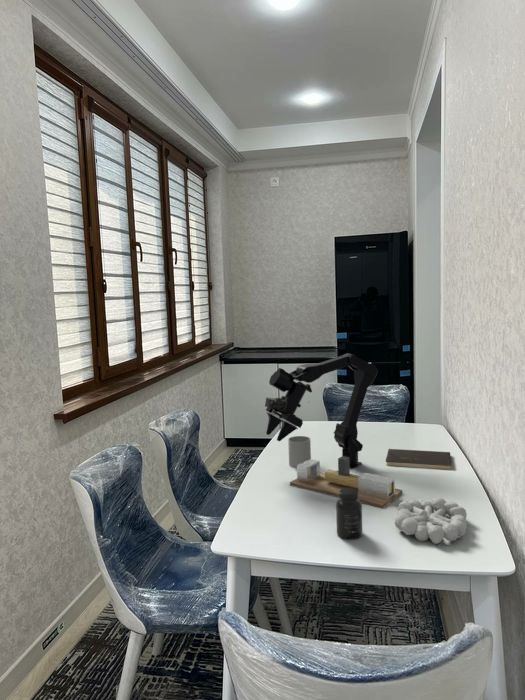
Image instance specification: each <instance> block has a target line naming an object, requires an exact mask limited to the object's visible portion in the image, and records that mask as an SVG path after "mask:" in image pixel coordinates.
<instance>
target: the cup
mask: <svg viewBox="0 0 525 700" xmlns="http://www.w3.org/2000/svg"><path fill="white" fill-rule="evenodd" d="M287 442H288V465H289V467H290V468H293V469H297V465H299V464H301V463H303V462H305V461H307V460H309V459H312V455H311V453H312V451H311V450H312V449H311V445H312V444H311V438H310V437H309V436H305V435H296V436H295V435H294V436H291V437H289V438H288V440H287Z"/></svg>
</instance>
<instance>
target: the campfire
mask: <svg viewBox="0 0 525 700" xmlns="http://www.w3.org/2000/svg"><path fill="white" fill-rule="evenodd" d="M397 509H398V510H397V512H396V517H395V518H394V525H395V527H396V529H398V530H399V531H402V532H403V533H404V534H405V535H406V536H413V535H414V536H415V538H416V539H417V540H418V541H419V542H427V541H428V540H429V539H430V540H431V542H432V543H433V544H435V545H436V544H440V543H441V541H442V540H443V539H444V540H446V541H448V542H452V541H456V540H457V539H458V538H459V537H460V538H461V537H463V536H465V535H466V530H467V527H468V522H467V510H466V509H465V508H464V507H462V506H459V504H458V503H457V502H454V501H449V502H447V501H446V500H445V499H444V498H443V497H440V496H438V497H435V498H433V500H431V501H429V500H428V499H426V500H425V499H424V500H421V501H419V500H417V499H413V498H412V499H411V500H408V501H407V500H403V501H402V502H400V503H399V504H398V508H397ZM446 515H448V516H449V517H450V518H449V517H448V518H447V517H446Z"/></svg>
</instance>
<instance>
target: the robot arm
mask: <svg viewBox="0 0 525 700" xmlns="http://www.w3.org/2000/svg"><path fill="white" fill-rule="evenodd" d="M345 367H349V369H351V370H352V371H354V372H353V380H354V386H353V389H352V392H351V397H350V399H349V402H348V406H347V408H346V413H345V415H344V418H343V421H341V422H340V423H338V422H337V423H336V424H335V429H334V431H333V434H334V435H333V439H334V440H335V442H336V443H337V445H338V447H340V448H342V449H341V452H342V454H341V457H342V456H345V457H349V461H350V469H355V468H357V467H359V466H360V465H362V464H363V462H361V461H359V452H361V451H362V450H363V447H364V445H363V443H361V442H360V441H359V440H358V426H357V424H358V420H359V417H360V414H361V410H362V407H363V404H364V401H365V399H366V394H367V391H368V389H369V387H370V386H371V385H372V384H373V383H374V381H375V378H376V377H377V375H378V369H377V366H376V365H375V364H374V363H372V362H367V361H365V360H364V359H361V358H360V357H358V356H357V355H355V354H352V353H348V352H347V353H344V354H343V355H340V356H336V357H334V358H330V359H328V360H324V361H321V362H318V363H307V364H300V365H298V366H297V367H296V369H295V370H293V371H291V372H287V371H286V370H285V369H283V368H281V367H278V368H277V370H276V371H274V372H273V374H272V375H271V376H270V378H269V382H268V383H269V385H270V386H271V387H273V388H275V389H277V390H278V391H281V392H283V393H285V392H286V393H285V395H282V396H280V397H266V398H265V404H264V407H266V409H265V411H266V414H267V417H268V423H267V428H266V432H265V433H266V435H268V436H269V435H271V434H272V433H273V431H274V430H276V429H277V427H278V426H279V425H280V424H281V428H280V430H279V433H278V436H277V438H276V441H278V442H281V441H282V440H283V439H285V438H286V437H287V436H289V435H290V434H291V433H293V432H295V431H296V430H298V429H299V428H300V429H301V427H302V426H303V424H304V423H303V422H304V421H303V419H302V418H300V417H298V416H297V415H296V414H295V413H296V412H297V409H298V408H301V406H302V404H301V402H302V399H303V397H304V395H305V394H306V392H309V393H312V392H313V390H312V388H311V384H310V383H313V382H315V381H317V380H319V379H320V378H321V377H322V376H324V375H325V374H329V373H331V372H334V371H338V370H340V369H344V368H345ZM305 383H306V384H305Z"/></svg>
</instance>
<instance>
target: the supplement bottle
mask: <svg viewBox="0 0 525 700" xmlns="http://www.w3.org/2000/svg"><path fill="white" fill-rule="evenodd" d="M338 498H339V499H337V500H336V502H335V519H336V521H335V522H336V525H335V526H336V534H337V536H338V537H339V538H341V539H345V540H347V541H348V540H350V541H351V540H352V541H353V540H357V539H359V538H361V537H362V536H363V505H362V504H363V503H361V502H360V501H359V500H358V491H357V490H356V489H353V488H343V489H341V490H340V491H339V497H338Z"/></svg>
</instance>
